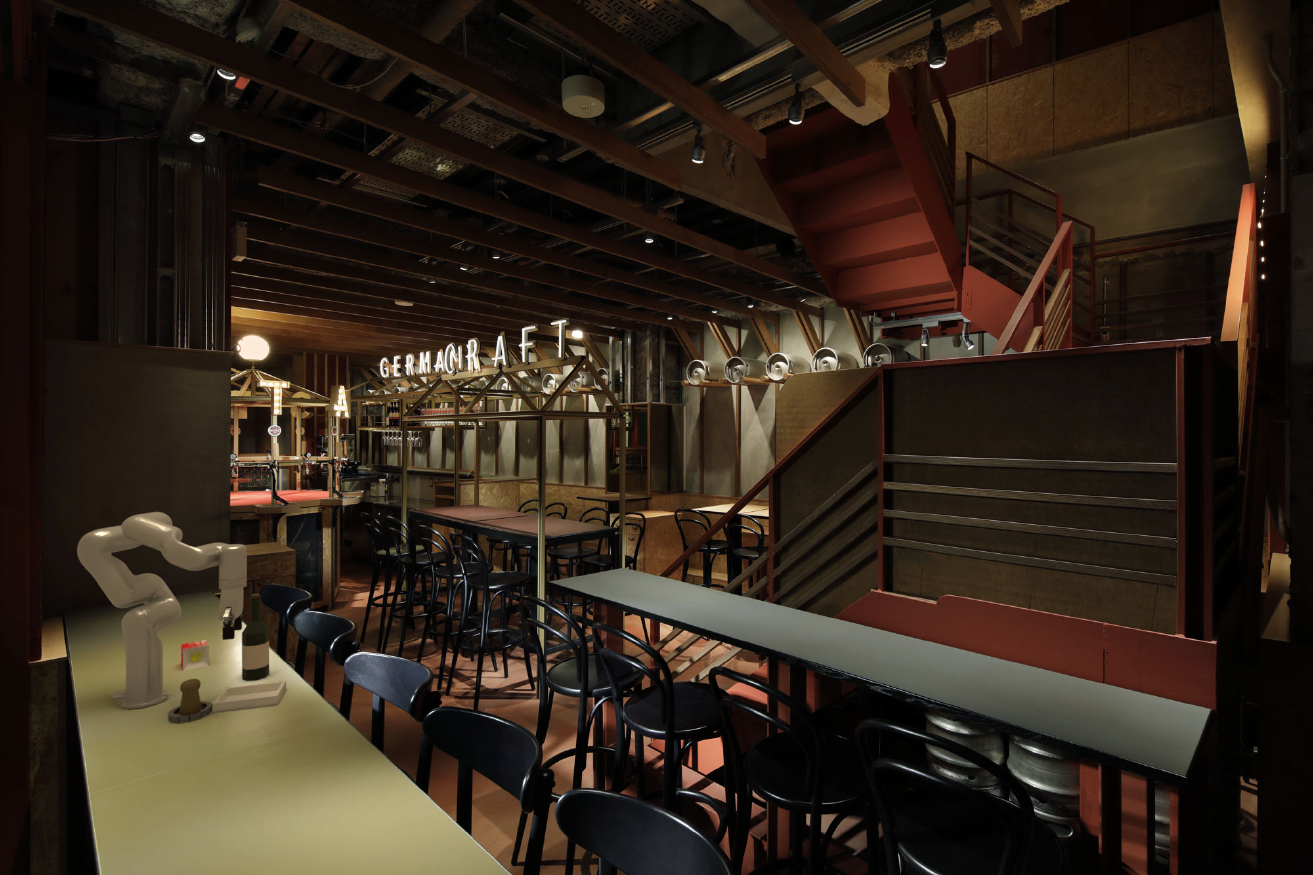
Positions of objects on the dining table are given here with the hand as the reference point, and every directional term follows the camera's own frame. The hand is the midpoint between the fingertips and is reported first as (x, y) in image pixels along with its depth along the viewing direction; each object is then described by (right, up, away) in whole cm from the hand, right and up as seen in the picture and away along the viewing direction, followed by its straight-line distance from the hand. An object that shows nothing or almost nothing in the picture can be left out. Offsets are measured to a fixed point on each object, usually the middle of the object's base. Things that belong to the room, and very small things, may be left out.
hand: (232, 634), depth 207 cm
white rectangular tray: (+5, -23, +2) cm, 23 cm away
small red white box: (-37, -23, +34) cm, 55 cm away
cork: (-7, -23, -9) cm, 26 cm away
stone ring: (-7, -23, -9) cm, 25 cm away
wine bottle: (-6, -23, +22) cm, 32 cm away
